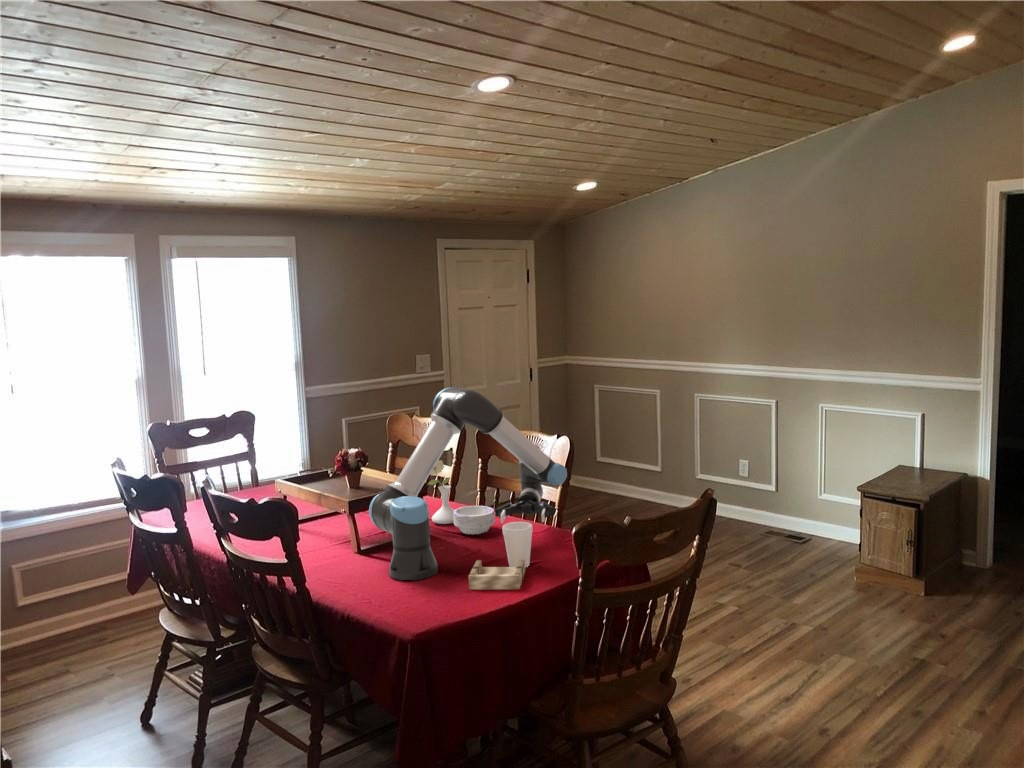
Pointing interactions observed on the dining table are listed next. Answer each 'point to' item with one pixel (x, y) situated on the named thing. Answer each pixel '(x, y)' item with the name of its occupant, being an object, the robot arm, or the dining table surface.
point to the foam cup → (518, 542)
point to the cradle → (496, 576)
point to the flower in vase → (445, 511)
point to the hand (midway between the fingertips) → (522, 518)
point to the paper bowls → (474, 519)
